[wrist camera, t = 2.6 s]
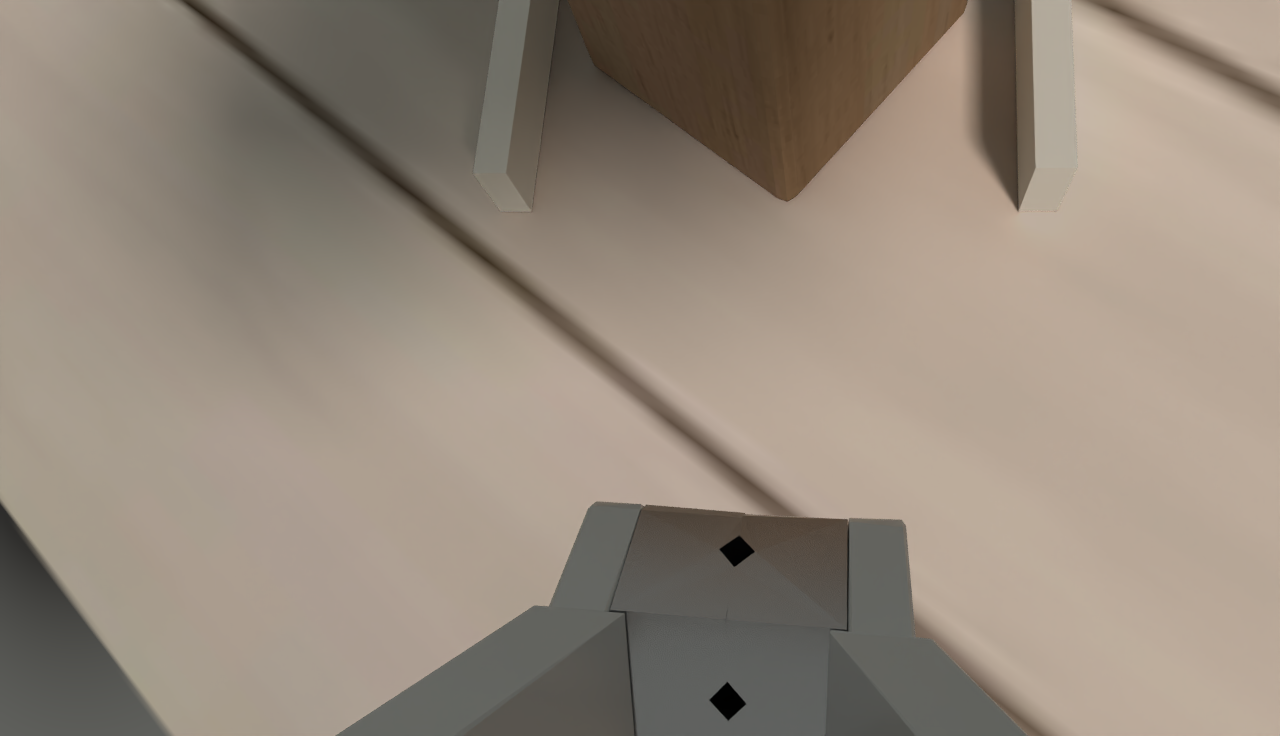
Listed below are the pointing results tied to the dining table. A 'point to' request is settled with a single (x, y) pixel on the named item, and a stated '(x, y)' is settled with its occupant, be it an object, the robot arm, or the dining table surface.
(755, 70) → the wooden block
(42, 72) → the dining table surface
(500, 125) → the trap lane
